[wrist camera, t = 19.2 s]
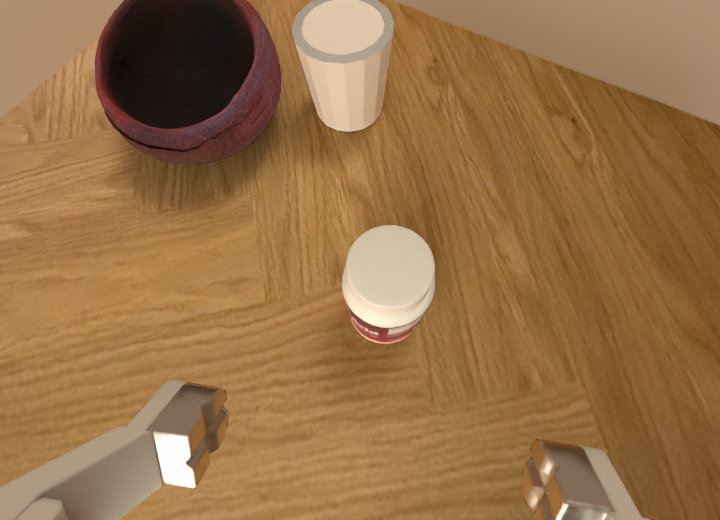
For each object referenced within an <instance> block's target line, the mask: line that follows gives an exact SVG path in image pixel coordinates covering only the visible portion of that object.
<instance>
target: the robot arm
mask: <svg viewBox="0 0 720 520" xmlns="http://www.w3.org/2000/svg"><path fill="white" fill-rule="evenodd" d="M226 400H227V397H226V390H224V389H222V388H217V387H212V386H207V385H201V384H196V383H191V382H184V381H179V380H173V379H170V380H169V381H167V382H165V383H164V384H163V385H162V386H161V387H160V388H159V390H158V391H157V392H156V393H155V394H154V395H153V396H152V397H151V398H150V400H149V401H148V402H147V403H146V404H145V405H144V406H143V407H142V408H141V410H140V411H139V412H138V413H137V414H136V415H135V416H134V417H133V418H132V420H131V421H130V422H129V423H128V424H127V425H126V426H118V427H116V428H114V429H112V430H110V431H108V432H106V433H104V434H102V435H100V436H98V437H96V438H94V439H92V440H90V441H88V442H86V443H84V444H83V445H81V446H79V447H77V448H75V449H73V450H71V451H69V452H67V453H65V454H63V455H61V456H59V457H57V458H55V459H53V460H51V461H49V462H47V463H45V464H43V465H41V466H39V467H37V468H35V469H33V470H31V471H29V472H27V473H25V474H23V475H21V476H19V477H17V478H15V479H13V480H11V481H9V482H7V483H5V484H3V485H1V486H0V520H120V519H121V518H122V517H124V516H125V515H126V514H127V513H129V512H130V511H131V510H132V509H134V508H135V507H136V506H138V505H139V504H140V503H141V502H143V501H144V500H145V499H146V498H148V497H149V496H150V495H152V494H153V493H154V492H155V491H157V490H158V489H159V488H160V487H162V486H163V483H164V484H170V485H176V486H183V487H189V488H196V487H197V485H198V484H199V482H200V480H201V478H202V477H203V475H204V473H205V471H206V470H207V468H208V466H209V464H210V463H209V454H211V453H212V452H214V451H215V450H217V449H218V448H219V446H220V444H221V443H222V441H223V439H224V436H225V433H226V430H227V427H228V411H227V410H226V409H225V408H224V406H223V405H224V403H225V401H226ZM530 451H531V454H532V458H530V459H528V460H527V461H525V464H524V467H523V470H522V489H523V494H524V498H525V502H526V504H527V505H528V506H529V507H530V508H531V509H532V511H533V512H534V513H535V515H534V518H533V520H650V519H647V518H643V517H642V516H641V515H640V513H639V511H638V509H637V508H636V506H635V504H634V502H633V501H632V499H631V497H630V495H629V494H628V492H627V490H626V488H625V487H624V485H623V483H622V481H621V480H620V478H619V476H618V474H617V473H616V471H615V469H614V467H613V466H612V464H611V462H610V460H609V459H608V457H607V455H606V453H605V452H604V451H603V450H601V449H599V448H593V447H586V446H580V445H578V446H577V445H574V444H567V443H561V442H554V441H547V440H541V439H536V440H535V441H533V443H532V445H531V448H530Z"/></svg>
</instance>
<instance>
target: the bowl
mask: <svg viewBox="0 0 720 520" xmlns="http://www.w3.org/2000/svg"><path fill="white" fill-rule="evenodd" d="M95 80H96V90H97V94H98V97H99V99H100V102H101V104H102V106H103V108H104V110H105V114H106V116H107V118H108V119H109V121H110V122H111V124H112V125H113V127H114V128H115V129H116V130H117V131H118V132H119V133H120V134H121V135H122V136H123V137H124V138H125V139H126V140H127V141H128V142H129V143H130V144H131V145H132V146H134V147H135V148H137V149H138V150H139V151H141V152H144V153H146V154H148V155H150V156H152V157H154V158H156V159H158V160H162V161H167V162H171V163H184V164H199V163H207V162H213V161H216V160H220V159H223V158H226V157H229V156H231V155H234V154H236V153H238V152H239V151H241V150H242V149H244V148H246V147H247V146H248V145H250V144H251V143H252V142H254V141H255V139H256V138H257V137H258V136H259V135H260V134H261V133H262V132H263V131H264V130H265V128H266V127H267V125H268V124H269V122H270V120H271V118H272V116H273V114H274V111H275V109H276V106H277V103H278V100H279V97H280V92H281V71H280V64H279V58H278V55H277V53H276V49H275V46H274V43H273V41H272V39H271V36H270V34H269V31H268V29H267V27H266V26H265V24H264V22H263V20H262V18H261V17H260V15H259V14H258V12H257V11H256V10H255V9H254V8H253V7H252V5H251V4H250V3H249V2H248V1H247V0H124V1H123V2H122V3H121V4H120V6H119V7H118V8H117V9H116V10H115V11H114V13H113V14H112V16H111V17H110V18H109V20H108V22H107V24H106V26H105V27H104V29H103V31H102V33H101V36H100V39H99V42H98V46H97V50H96V57H95Z"/></svg>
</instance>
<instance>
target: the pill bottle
mask: <svg viewBox="0 0 720 520" xmlns="http://www.w3.org/2000/svg"><path fill="white" fill-rule="evenodd" d="M434 273H435V263H434V257H433V254H432V252H431V250H430V248H429V246H428V245H427V243H426V242H425V241H424V240H423V239H422V237H420V236H419V235H418V234H416V233H415V232H413V231H411V230H409V229H407V228H404V227H401V226H396V225H384V226H379V227H375V228H372V229H370V230H368V231H366V232H365V233H363V234H362V235H360V236H359V237H358V238H357V239H356V240H355V242H354V243H353V244H352V246H351V248H350V250H349V252H348V255H347V259H346V265H345V268H344V271H343V276H342V290H343V295H344V299H345V302H346V306H347V309H348V313H349V316H350V319H351V321H352V324H353V325H354V327H355V328H356V330H357V331H358V332H359V333H360V334H361V335H362V336H364V337H365V338H367V339H368V340H370V341H373V342H376V343H383V344H388V343H394V342H397V341H400V340H402V339H404V338H406V337H407V336H408V335H409V334H411V332H412V331H413V330H414V329H415V328H416V326H417V325H418V323H419V321H420V319H421V318H422V316H423V314H424V313H425V311H426V310H427V309H428V307H429V305H430V304H431V302H432V299H433V296H434V293H435V275H434Z"/></svg>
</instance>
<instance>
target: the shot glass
mask: <svg viewBox="0 0 720 520" xmlns="http://www.w3.org/2000/svg"><path fill="white" fill-rule="evenodd" d="M393 30H394V21H393V18H392V16H391V13H390V11H389V9H387V8H386V7H385V6H384V5H383V4H382V3H381V2H379V1H378V0H314V1H312V2H310V3H308V4H307V5H306V6H305V7H304V8H303V9H302V10H301V11H300V12H299V13H298V14H297V15H296V17H295V20H294V23H293V26H292V33H293V38H294V42H295V45H296V48H297V52H298V55H299V58H300V61H301V64H302V67H303V70H304V73H305V76H306V80H307V83H308V86H309V89H310V92H311V95H312V98H313V101H314V104H315V108H316V111H317V114H318V117H319V118H320V119H321V120H322V122H323V123H324V124H325V125H326V126H328V127H330V128H333V129H335V130H337V131H345V132H353V131H357V130H362V129H364V128H366V127H368V126H369V125H371V124H373V123H374V122H375V121H376V120H377V118H378V117H379V116H380V114H381V110H382V105H383V98H384V91H385V84H386V78H387V71H388V64H389V57H390V50H391V43H392V37H393Z"/></svg>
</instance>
